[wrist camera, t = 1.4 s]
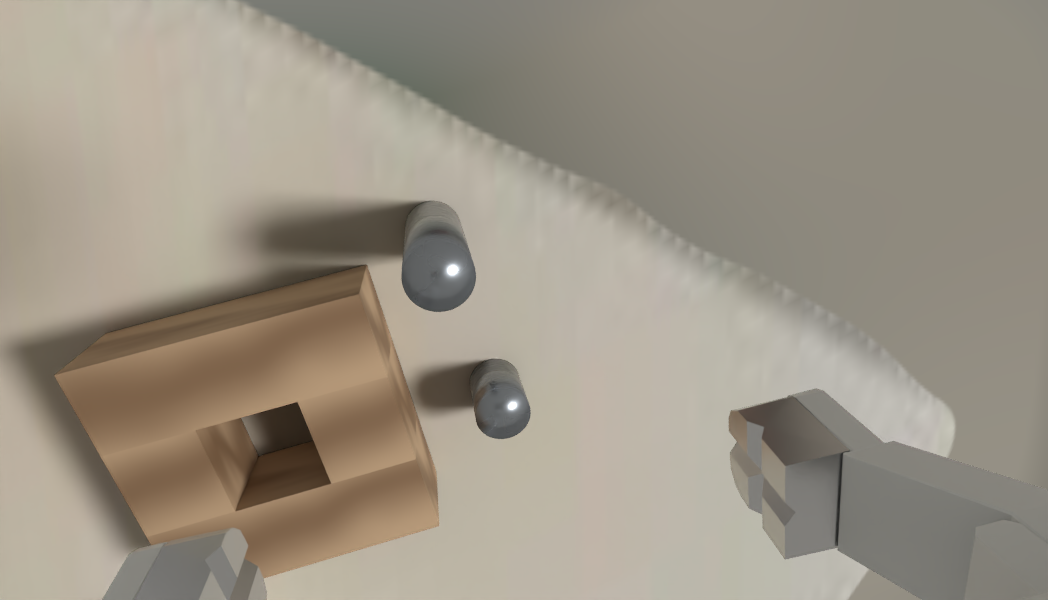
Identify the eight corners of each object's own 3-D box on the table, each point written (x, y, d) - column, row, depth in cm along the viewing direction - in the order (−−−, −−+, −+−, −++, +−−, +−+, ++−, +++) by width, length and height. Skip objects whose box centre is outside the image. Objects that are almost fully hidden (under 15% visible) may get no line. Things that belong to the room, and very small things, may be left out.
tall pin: (467, 247, 34) (483, 300, 26) (414, 261, 34) (413, 320, 25) (452, 194, 33) (465, 233, 25) (398, 208, 33) (392, 252, 24)
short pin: (524, 395, 38) (535, 430, 34) (476, 409, 38) (483, 445, 34) (512, 352, 37) (523, 383, 33) (464, 366, 36) (469, 399, 33)
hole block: (436, 472, 38) (439, 525, 34) (212, 537, 37) (183, 601, 33) (366, 264, 33) (358, 294, 29) (106, 333, 32) (54, 375, 28)
